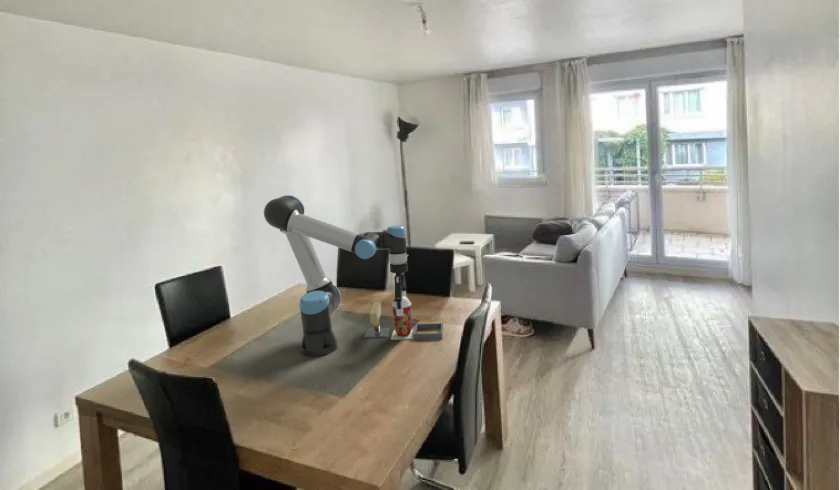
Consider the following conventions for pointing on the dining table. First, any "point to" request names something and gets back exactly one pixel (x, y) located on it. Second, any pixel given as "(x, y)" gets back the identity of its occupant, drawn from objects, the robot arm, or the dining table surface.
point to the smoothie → (403, 318)
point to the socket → (428, 335)
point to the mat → (396, 337)
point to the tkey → (375, 315)
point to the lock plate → (377, 333)
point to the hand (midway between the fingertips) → (401, 310)
